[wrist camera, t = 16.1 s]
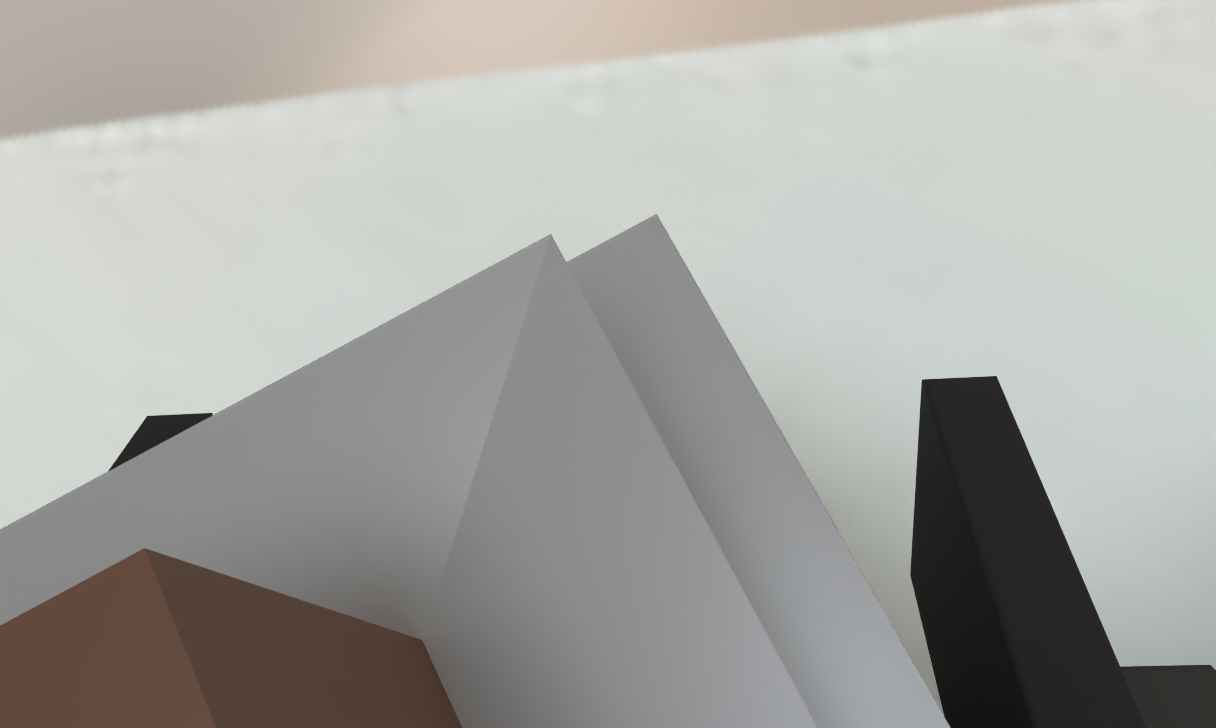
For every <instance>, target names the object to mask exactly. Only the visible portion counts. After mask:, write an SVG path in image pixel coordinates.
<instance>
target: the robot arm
mask: <svg viewBox="0 0 1216 728" xmlns="http://www.w3.org/2000/svg"><path fill="white" fill-rule="evenodd" d="M211 416H213V415H212V413H202V414H181V415H160V416H147V417H146V419H145V420H144V421H143V423H142V424H141V426H140V427H139V429H138V430H137V431H136V433H135V434H134V436H133V437H132V438H131V440H130V441H129V443H128V444H127V445H126V447H125V448H124V450H123V451H122V453H121V454H120V455H119V457H118V458H117V460H116V461H115V462H114V464H113V465H112V467H111V468H110V469H109V471H110V470H112V469H114V468H116V467H118V466H120V465H121V464H123V463H125V462H127V461H129V460H131V459H133V458H134V457H136V456H138V455H140V454H142V453H144V452H146V451H148V450H149V449H151V448H153V447H155V446H157V445H159V444H161V443H162V442H164V441H166V440H168V439H170V438H172V437H174V436H175V435H177V434H179V433H181V432H183V431H185V430H187V429H189V428H190V427H192V426H194V425H196V424H198V423H200V422H202V421H203V420H205V419H207V418H209V417H211ZM910 575H911V579H912V583H913V587H914V592H915V596H916V600H917V604H918V608H919V612H920V617H921V621H922V625H923V629H924V633H925V637H926V642H927V646H928V650H929V654H930V658H931V662H932V667H933V671H934V675H935V679H936V683H937V687H938V692H939V696H940V700H941V704H942V708H943V712H944V717H945V719H946V721H947V722H948V724H949V726H950V728H1216V670H1215V669H1214V668H1213V667H1212V666H1211V665H1181V666H1134V667H1120V666H1119V663H1118V661H1117V659H1116V656H1115V654H1114V652H1113V649H1112V647H1111V644H1110V642H1109V640H1108V637H1107V635H1106V633H1105V630H1104V628H1103V626H1102V623H1101V621H1100V619H1099V616H1098V614H1097V612H1096V609H1095V607H1094V604H1093V602H1092V600H1091V597H1090V595H1089V593H1088V590H1087V588H1086V586H1085V583H1084V581H1083V579H1082V576H1081V574H1080V572H1079V569H1078V567H1077V565H1076V562H1075V560H1074V557H1073V555H1072V553H1071V550H1070V548H1069V546H1068V543H1067V541H1066V539H1065V536H1064V534H1063V532H1062V529H1061V527H1060V525H1059V522H1058V520H1057V517H1056V515H1055V513H1054V510H1053V508H1052V506H1051V503H1050V501H1049V499H1048V496H1047V494H1046V492H1045V489H1044V487H1043V485H1042V482H1041V480H1040V477H1039V475H1038V473H1037V470H1036V468H1035V466H1034V463H1033V461H1032V459H1031V456H1030V454H1029V452H1028V449H1027V447H1026V445H1025V442H1024V440H1023V437H1022V435H1021V433H1020V430H1019V428H1018V426H1017V423H1016V421H1015V419H1014V416H1013V414H1012V412H1011V409H1010V407H1009V405H1008V402H1007V400H1006V397H1005V395H1004V393H1003V390H1002V388H1001V386H1000V383H999V381H998V379H997V376H990V377H968V378H947V379H925V380H922V388H921V405H920V422H919V439H918V456H917V473H916V490H915V506H914V523H913V540H912V557H911V574H910Z"/></svg>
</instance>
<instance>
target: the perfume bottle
mask: <svg viewBox="0 0 1216 728" xmlns="http://www.w3.org/2000/svg"><path fill="white" fill-rule="evenodd" d="M0 728H950V726H949V724H948V722H947V721H946V719H945V717H944V715H943V714H942V712H941V710H940V708H939V707H938V705H937V703H936V701H935V700H934V698H933V696H932V694H931V693H930V691H929V689H928V687H927V686H926V684H925V682H924V680H923V679H922V677H921V675H920V673H919V672H918V670H917V668H916V666H915V665H914V663H913V661H912V660H911V658H910V656H909V654H908V653H907V651H906V649H905V647H904V646H903V644H902V642H901V640H900V639H899V637H898V635H897V633H896V632H895V630H894V628H893V626H892V625H891V623H890V621H889V619H888V618H887V616H886V614H885V612H884V611H883V609H882V607H881V605H880V604H879V602H878V600H877V598H876V597H875V595H874V593H873V591H872V590H871V588H870V586H869V584H868V583H867V581H866V579H865V577H864V576H863V574H862V572H861V570H860V569H859V567H858V565H857V563H856V562H855V560H854V558H853V556H852V555H851V553H850V551H849V549H848V548H847V546H846V544H845V542H844V541H843V539H842V537H841V535H840V534H839V532H838V530H837V528H836V527H835V525H834V523H833V521H832V520H831V518H830V516H829V514H828V513H827V511H826V509H825V507H824V506H823V504H822V502H821V500H820V499H819V497H818V495H817V493H816V492H815V490H814V488H813V486H812V485H811V483H810V481H809V479H808V478H807V476H806V474H805V472H804V471H803V469H802V467H801V465H800V464H799V462H798V460H797V458H796V457H795V455H794V453H793V451H792V450H791V448H790V446H789V444H788V443H787V441H786V439H785V437H784V436H783V434H782V432H781V430H780V429H779V427H778V425H777V424H776V422H775V420H774V418H773V417H772V415H771V413H770V411H769V410H768V408H767V406H766V404H765V403H764V401H763V399H762V397H761V396H760V394H759V392H758V390H757V389H756V387H755V385H754V383H753V382H752V380H751V378H750V376H749V375H748V373H747V371H746V369H745V368H744V366H743V364H742V362H741V361H740V359H739V357H738V355H737V354H736V352H735V350H734V348H733V347H732V345H731V343H730V341H729V340H728V338H727V336H726V334H725V333H724V331H723V329H722V327H721V326H720V324H719V322H718V320H717V319H716V317H715V315H714V313H713V312H712V310H711V308H710V306H709V305H708V303H707V301H706V299H705V298H704V296H703V294H702V292H701V291H700V289H699V287H698V285H697V284H696V282H695V280H694V278H693V277H692V275H691V273H690V271H689V270H688V268H687V266H686V264H685V263H684V261H683V259H682V257H681V256H680V254H679V252H678V250H677V249H676V247H675V245H674V243H673V242H672V240H671V238H670V236H669V235H668V233H667V231H666V229H665V228H664V226H663V224H662V222H661V221H660V219H659V217H658V215H657V214H656V215H654V216H652V217H650V218H648V219H646V220H645V221H643V222H641V223H639V224H637V225H635V226H633V227H631V228H630V229H628V230H626V231H624V232H622V233H620V234H618V235H617V236H615V237H613V238H611V239H609V240H607V241H605V242H604V243H602V244H600V245H598V246H596V247H594V248H592V249H590V250H589V251H587V252H585V253H583V254H581V255H579V256H577V257H576V258H574V259H572V260H570V261H568V262H566V261H565V259H564V258H563V256H562V254H561V252H560V250H559V248H558V246H557V245H556V243H555V241H554V239H553V237H552V235H551V234H550V235H548V236H546V237H545V238H543V239H541V240H539V241H537V242H535V243H533V244H532V245H530V246H528V247H526V248H524V249H522V250H520V251H518V252H517V253H515V254H513V255H511V256H509V257H507V258H505V259H504V260H502V261H500V262H498V263H496V264H494V265H492V266H491V267H489V268H487V269H485V270H483V271H481V272H479V273H477V274H476V275H474V276H472V277H470V278H468V279H466V280H464V281H463V282H461V283H459V284H457V285H455V286H453V287H451V288H450V289H448V290H446V291H444V292H442V293H440V294H438V295H436V296H435V297H433V298H431V299H429V300H427V301H425V302H423V303H422V304H420V305H418V306H416V307H414V308H412V309H410V310H409V311H407V312H405V313H403V314H401V315H399V316H397V317H395V318H394V319H392V320H390V321H388V322H386V323H384V324H382V325H381V326H379V327H377V328H375V329H373V330H371V331H369V332H367V333H366V334H364V335H362V336H360V337H358V338H356V339H354V340H353V341H351V342H349V343H347V344H345V345H343V346H341V347H340V348H338V349H336V350H334V351H332V352H330V353H328V354H326V355H325V356H323V357H321V358H319V359H317V360H315V361H313V362H312V363H310V364H308V365H306V366H304V367H302V368H300V369H299V370H297V371H295V372H293V373H291V374H289V375H287V376H285V377H284V378H282V379H280V380H278V381H276V382H274V383H272V384H271V385H269V386H267V387H265V388H263V389H261V390H259V391H258V392H256V393H254V394H252V395H250V396H248V397H246V398H244V399H243V400H241V401H239V402H237V403H235V404H233V405H231V406H230V407H228V408H226V409H224V410H222V411H220V412H218V413H217V414H215V415H213V416H211V417H209V418H207V419H205V420H203V421H202V422H200V423H198V424H196V425H194V426H192V427H190V428H189V429H187V430H185V431H183V432H181V433H179V434H177V435H175V436H174V437H172V438H170V439H168V440H166V441H164V442H162V443H161V444H159V445H157V446H155V447H153V448H151V449H149V450H148V451H146V452H144V453H142V454H140V455H138V456H136V457H134V458H133V459H131V460H129V461H127V462H125V463H123V464H121V465H120V466H118V467H116V468H114V469H112V470H110V471H108V472H107V473H105V474H103V475H101V476H99V477H97V478H95V479H93V480H92V481H90V482H88V483H86V484H84V485H82V486H80V487H79V488H77V489H75V490H73V491H71V492H69V493H67V494H66V495H64V496H62V497H60V498H58V499H56V500H54V501H52V502H51V503H49V504H47V505H45V506H43V507H41V508H39V509H38V510H36V511H34V512H32V513H30V514H28V515H26V516H24V517H23V518H21V519H19V520H17V521H15V522H13V523H11V524H10V525H8V526H6V527H4V528H2V529H0Z"/></svg>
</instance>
